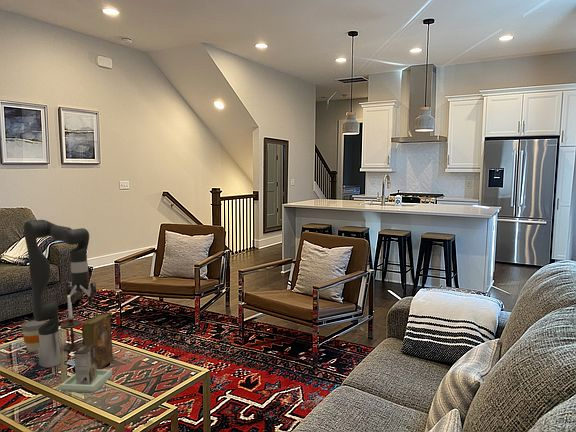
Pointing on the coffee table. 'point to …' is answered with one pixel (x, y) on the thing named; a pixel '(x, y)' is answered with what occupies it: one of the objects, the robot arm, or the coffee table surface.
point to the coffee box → (85, 364)
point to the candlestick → (71, 328)
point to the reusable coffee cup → (32, 334)
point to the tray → (98, 382)
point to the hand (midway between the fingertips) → (82, 303)
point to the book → (99, 338)
